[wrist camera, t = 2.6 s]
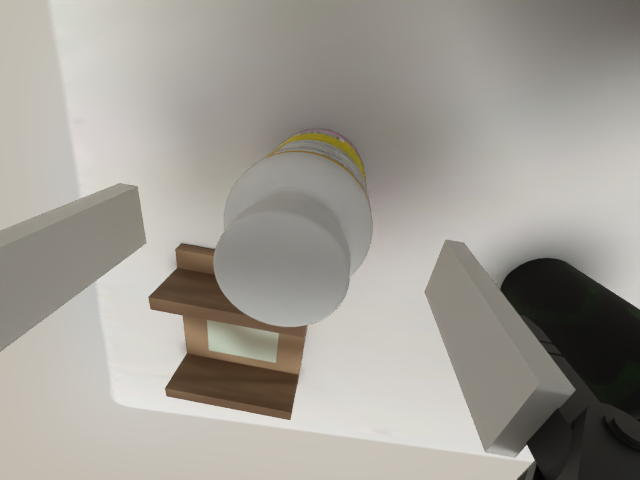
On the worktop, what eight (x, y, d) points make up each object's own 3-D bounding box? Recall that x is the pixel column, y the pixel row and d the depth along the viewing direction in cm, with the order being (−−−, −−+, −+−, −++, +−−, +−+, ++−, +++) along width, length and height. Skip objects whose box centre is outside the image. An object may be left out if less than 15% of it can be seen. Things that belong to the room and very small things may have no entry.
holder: (181, 243, 25) (144, 276, 20) (316, 268, 25) (309, 307, 20) (193, 364, 33) (168, 407, 28) (297, 384, 32) (288, 431, 28)
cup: (508, 334, 26) (615, 503, 15) (470, 277, 24) (565, 430, 13) (605, 297, 23) (817, 473, 13) (573, 228, 21) (801, 372, 10)
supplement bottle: (310, 232, 23) (268, 369, 12) (255, 164, 21) (141, 252, 10) (382, 186, 21) (417, 303, 9) (329, 105, 19) (293, 130, 7)
